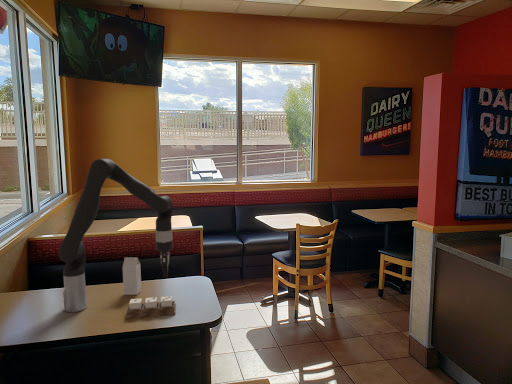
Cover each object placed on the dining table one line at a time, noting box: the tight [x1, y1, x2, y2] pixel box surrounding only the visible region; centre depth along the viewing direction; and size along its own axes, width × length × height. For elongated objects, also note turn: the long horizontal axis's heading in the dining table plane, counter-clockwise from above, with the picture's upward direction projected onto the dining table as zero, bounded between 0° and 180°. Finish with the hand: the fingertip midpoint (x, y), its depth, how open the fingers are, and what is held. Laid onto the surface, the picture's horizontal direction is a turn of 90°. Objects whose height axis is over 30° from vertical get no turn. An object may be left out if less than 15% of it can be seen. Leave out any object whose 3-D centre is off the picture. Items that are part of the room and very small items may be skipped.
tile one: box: [128, 297, 143, 310], centre depth 185 cm, size 5×5×3 cm
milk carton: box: [121, 257, 142, 296], centre depth 210 cm, size 7×7×19 cm
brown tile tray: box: [125, 300, 177, 320], centre depth 186 cm, size 22×10×3 cm, turn 100°
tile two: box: [144, 296, 158, 308], centre depth 186 cm, size 5×5×3 cm
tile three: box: [160, 295, 173, 307], centre depth 187 cm, size 5×5×3 cm
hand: (165, 275), depth 185 cm, fingers open, 4 cm apart
